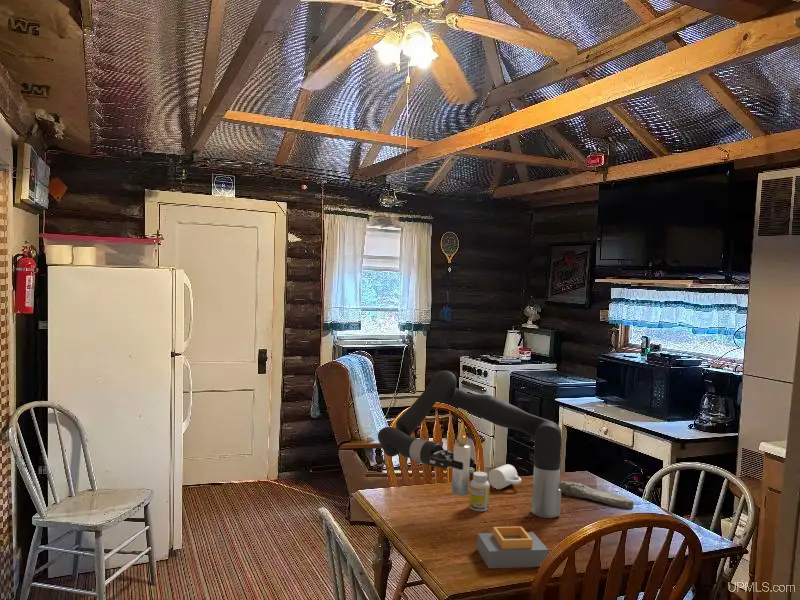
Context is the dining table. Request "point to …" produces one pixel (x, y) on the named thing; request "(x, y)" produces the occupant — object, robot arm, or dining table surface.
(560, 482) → the elongated rock
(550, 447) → the robot arm
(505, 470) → the mug
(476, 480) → the supplement bottle
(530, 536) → the grey base with frame
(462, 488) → the gold capped bottle
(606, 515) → the dining table surface
